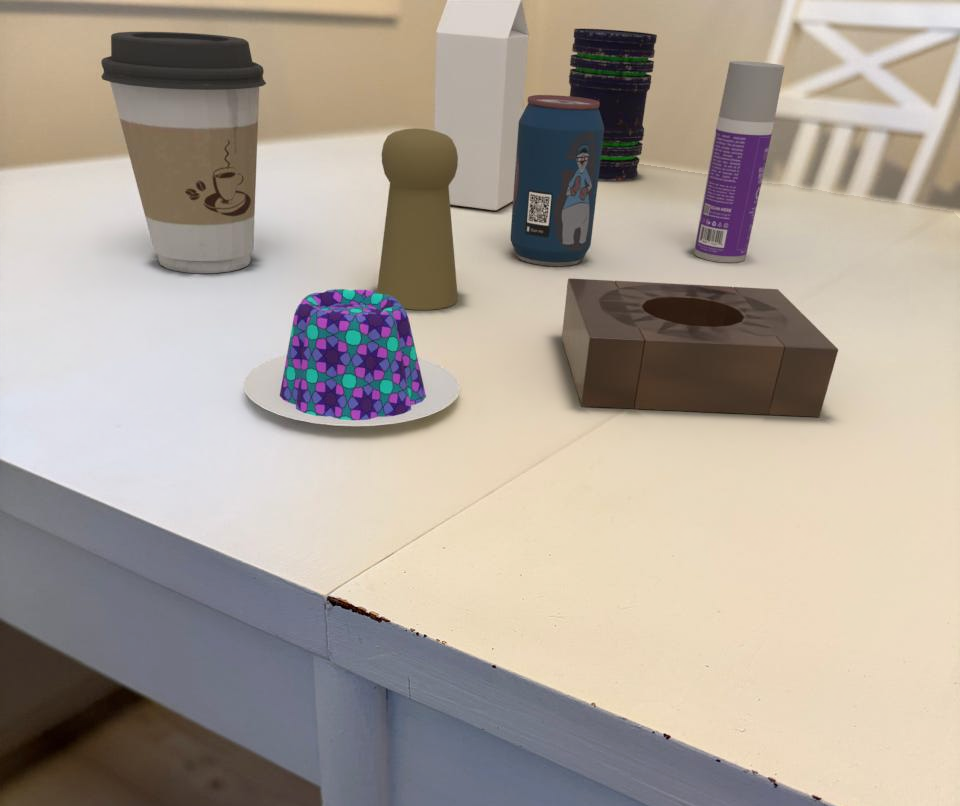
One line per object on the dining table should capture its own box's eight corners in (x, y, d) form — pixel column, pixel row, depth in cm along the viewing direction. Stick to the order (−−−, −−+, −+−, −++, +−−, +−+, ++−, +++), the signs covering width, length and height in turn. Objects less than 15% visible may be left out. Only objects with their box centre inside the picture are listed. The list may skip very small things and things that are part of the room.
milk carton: (496, 212, 95) (510, -15, 84) (431, 203, 97) (437, -21, 86) (516, 200, 101) (532, -15, 90) (454, 192, 102) (463, -20, 91)
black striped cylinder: (544, 171, 116) (557, 28, 108) (583, 163, 123) (598, 28, 114) (615, 184, 112) (634, 36, 103) (651, 175, 119) (672, 35, 110)
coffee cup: (183, 289, 68) (152, 44, 59) (101, 256, 74) (62, 29, 65) (307, 266, 75) (296, 44, 66) (223, 237, 81) (203, 30, 72)
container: (753, 263, 84) (796, 68, 75) (704, 262, 83) (741, 65, 74) (733, 250, 88) (771, 62, 79) (686, 249, 87) (719, 59, 78)
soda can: (528, 244, 85) (540, 91, 78) (600, 256, 83) (619, 100, 76) (495, 259, 80) (506, 97, 73) (571, 272, 78) (589, 107, 71)
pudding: (480, 375, 57) (485, 286, 54) (427, 453, 47) (429, 351, 44) (294, 349, 59) (289, 262, 56) (206, 420, 49) (194, 319, 46)
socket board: (764, 349, 64) (778, 288, 62) (819, 417, 54) (839, 349, 52) (561, 339, 63) (568, 277, 61) (581, 406, 54) (589, 337, 51)
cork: (467, 308, 68) (475, 138, 62) (385, 311, 66) (385, 136, 60) (446, 285, 73) (451, 124, 66) (369, 287, 71) (367, 122, 65)
